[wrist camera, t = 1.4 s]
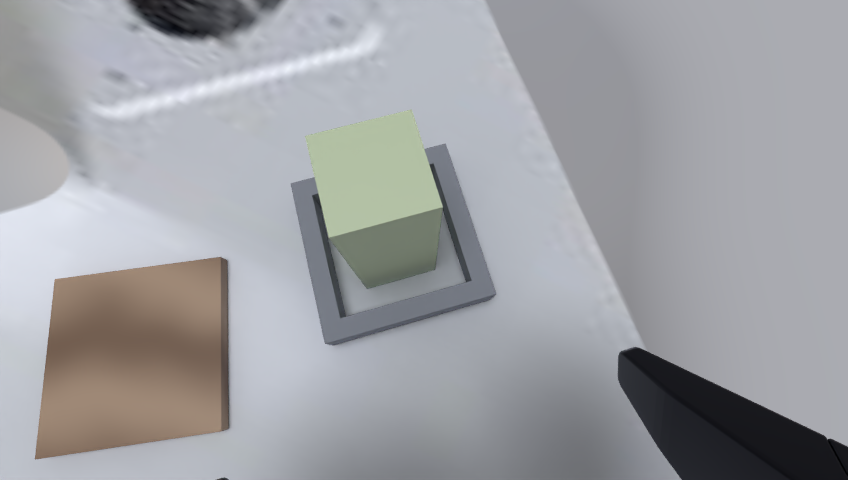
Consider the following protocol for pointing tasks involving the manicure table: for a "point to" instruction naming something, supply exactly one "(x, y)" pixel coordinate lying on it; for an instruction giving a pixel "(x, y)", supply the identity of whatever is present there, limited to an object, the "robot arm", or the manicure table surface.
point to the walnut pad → (135, 358)
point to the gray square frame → (408, 310)
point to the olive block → (378, 197)
